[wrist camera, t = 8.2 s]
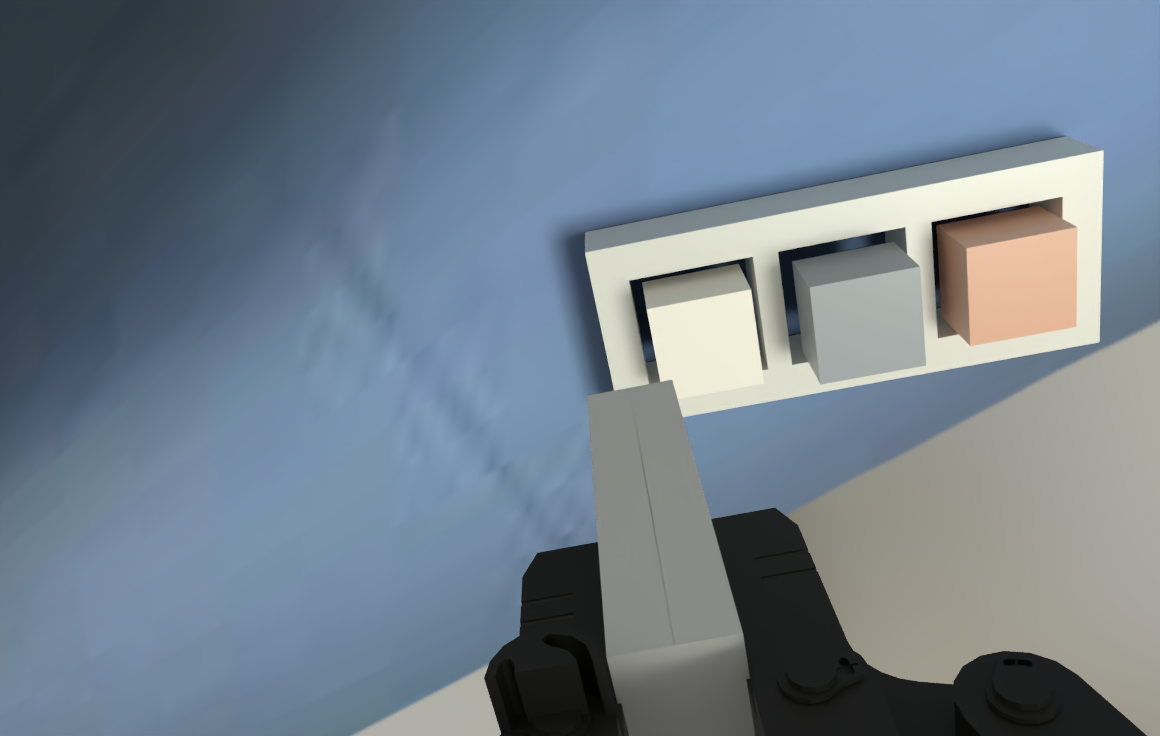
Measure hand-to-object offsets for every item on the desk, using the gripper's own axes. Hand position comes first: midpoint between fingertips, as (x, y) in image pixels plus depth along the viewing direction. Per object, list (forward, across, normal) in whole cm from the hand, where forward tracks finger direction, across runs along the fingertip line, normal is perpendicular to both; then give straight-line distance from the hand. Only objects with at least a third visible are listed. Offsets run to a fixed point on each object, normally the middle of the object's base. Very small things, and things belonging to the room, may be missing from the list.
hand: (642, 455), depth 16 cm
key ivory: (+22, +3, -6) cm, 23 cm away
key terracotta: (+22, +15, -6) cm, 27 cm away
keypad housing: (+24, +9, -6) cm, 26 cm away
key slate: (+21, +9, -6) cm, 24 cm away
